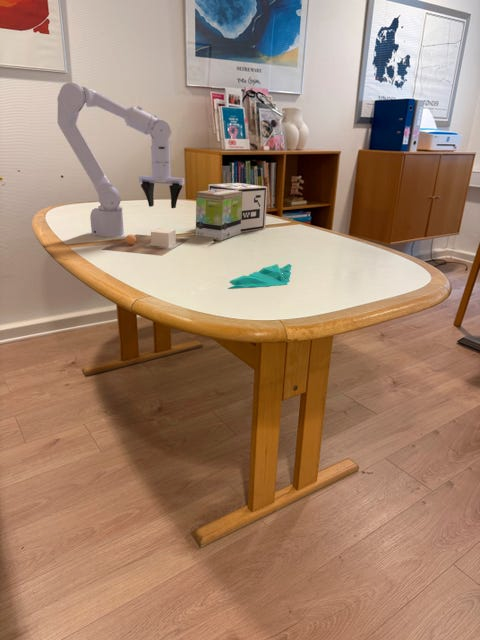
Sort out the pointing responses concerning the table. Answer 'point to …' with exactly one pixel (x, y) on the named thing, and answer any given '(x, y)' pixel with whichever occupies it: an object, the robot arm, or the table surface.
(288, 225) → the table surface
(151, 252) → the board
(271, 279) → the cloth
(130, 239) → the orange ball
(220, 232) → the tea box
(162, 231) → the cream cube
